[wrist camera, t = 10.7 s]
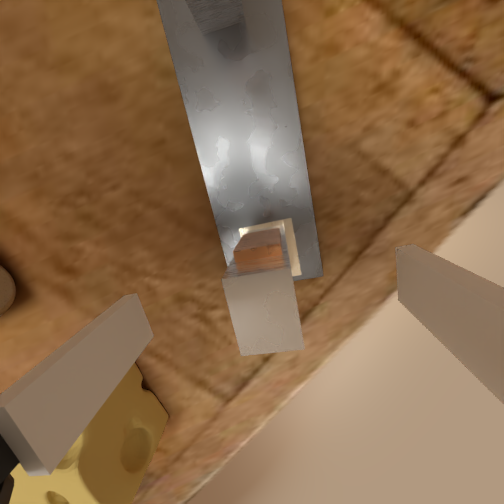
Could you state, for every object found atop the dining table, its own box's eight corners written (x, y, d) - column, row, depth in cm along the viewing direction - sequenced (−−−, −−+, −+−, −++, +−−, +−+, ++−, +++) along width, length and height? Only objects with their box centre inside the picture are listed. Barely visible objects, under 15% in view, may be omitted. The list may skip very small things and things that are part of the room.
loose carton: (246, 224, 20) (217, 266, 10) (282, 217, 19) (288, 254, 10) (257, 275, 21) (241, 356, 11) (291, 269, 20) (304, 349, 11)
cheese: (130, 349, 27) (49, 443, 17) (175, 418, 29) (126, 534, 20) (60, 372, 29) (-46, 467, 19) (108, 435, 31) (35, 547, 22)
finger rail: (155, -26, 17) (-74, -417, 6) (267, -70, 15) (247, -680, 4) (236, 283, 23) (200, 378, 12) (320, 269, 22) (364, 360, 11)
